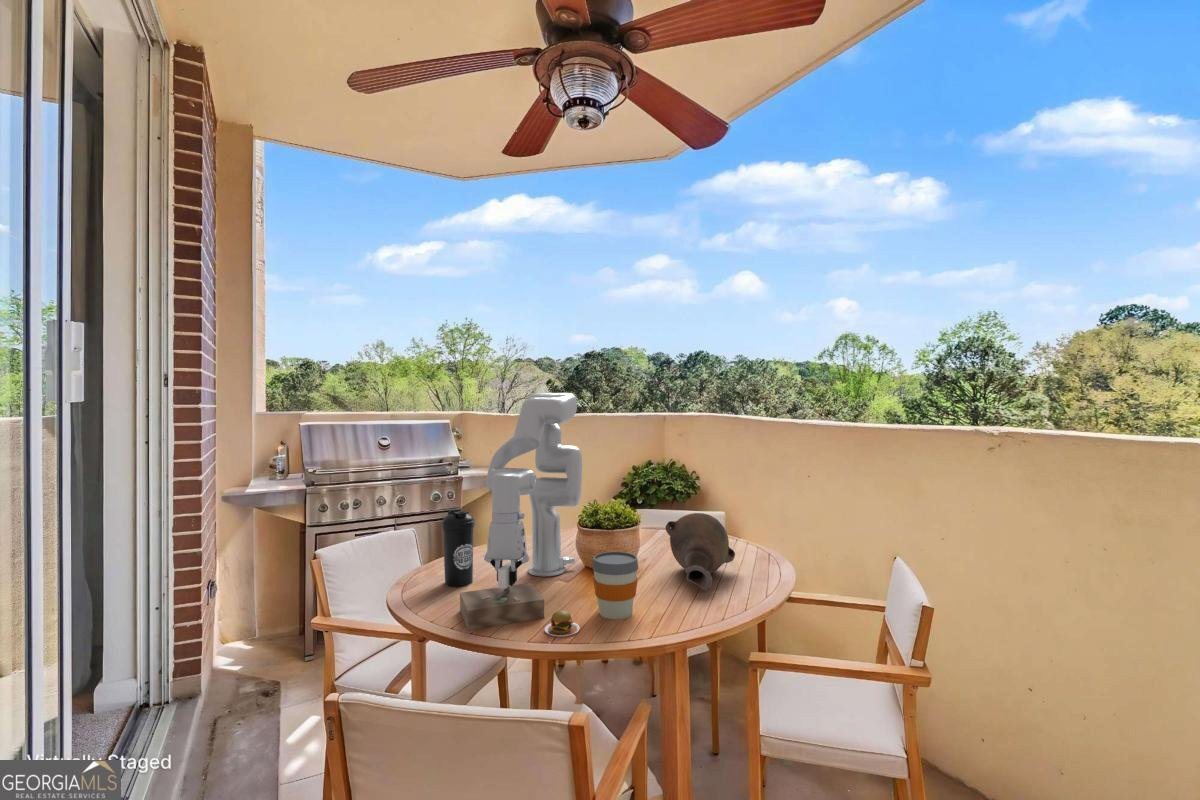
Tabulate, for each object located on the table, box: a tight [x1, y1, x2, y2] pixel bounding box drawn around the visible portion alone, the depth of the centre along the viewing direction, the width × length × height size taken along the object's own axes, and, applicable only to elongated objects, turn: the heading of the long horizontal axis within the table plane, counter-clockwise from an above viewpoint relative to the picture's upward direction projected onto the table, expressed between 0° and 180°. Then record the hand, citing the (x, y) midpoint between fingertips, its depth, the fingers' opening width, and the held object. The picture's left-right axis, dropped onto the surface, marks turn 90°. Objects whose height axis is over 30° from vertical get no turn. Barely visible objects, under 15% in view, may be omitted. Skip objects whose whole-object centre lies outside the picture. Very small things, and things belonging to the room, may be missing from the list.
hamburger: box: [544, 609, 581, 638], centre depth 142 cm, size 12×12×6 cm
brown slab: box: [459, 582, 545, 631], centre depth 153 cm, size 20×14×5 cm
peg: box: [496, 561, 511, 599], centre depth 154 cm, size 10×2×7 cm, turn 167°
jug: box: [665, 512, 736, 592], centre depth 182 cm, size 20×20×30 cm
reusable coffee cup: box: [592, 551, 639, 620], centre depth 153 cm, size 12×13×15 cm
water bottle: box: [441, 508, 476, 588], centre depth 179 cm, size 10×10×23 cm
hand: (506, 583), depth 155 cm, fingers closed on peg, 2 cm apart
